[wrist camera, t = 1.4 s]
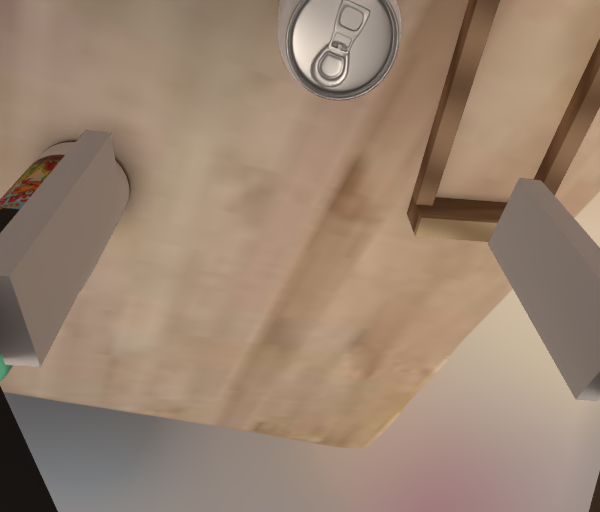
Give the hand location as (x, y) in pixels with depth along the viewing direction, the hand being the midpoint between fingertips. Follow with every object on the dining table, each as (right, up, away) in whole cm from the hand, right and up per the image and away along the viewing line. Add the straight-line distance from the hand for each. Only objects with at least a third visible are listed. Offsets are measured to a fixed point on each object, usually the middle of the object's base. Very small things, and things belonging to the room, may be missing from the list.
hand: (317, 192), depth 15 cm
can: (+1, +16, +17) cm, 23 cm away
